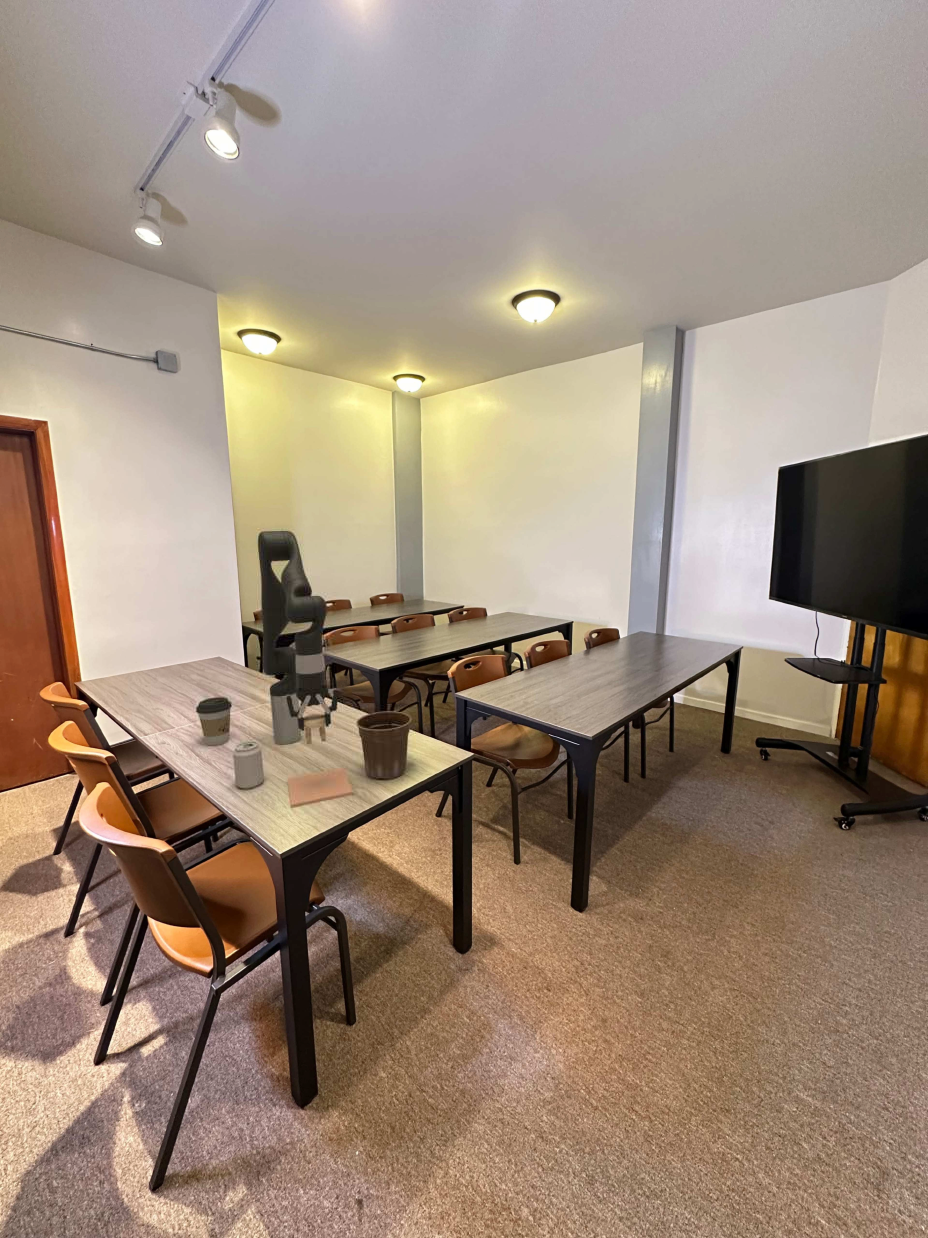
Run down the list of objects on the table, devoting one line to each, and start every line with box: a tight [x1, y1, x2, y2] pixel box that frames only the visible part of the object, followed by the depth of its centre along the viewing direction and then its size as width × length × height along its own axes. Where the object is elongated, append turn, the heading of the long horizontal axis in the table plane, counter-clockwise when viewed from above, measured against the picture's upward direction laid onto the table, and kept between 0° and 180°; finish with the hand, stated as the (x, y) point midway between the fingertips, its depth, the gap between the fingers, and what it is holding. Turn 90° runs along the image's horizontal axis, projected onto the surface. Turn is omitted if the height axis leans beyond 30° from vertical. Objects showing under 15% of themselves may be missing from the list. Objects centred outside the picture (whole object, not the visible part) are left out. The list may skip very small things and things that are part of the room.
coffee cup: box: [195, 696, 233, 747], centre depth 171 cm, size 11×11×15 cm
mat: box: [287, 767, 354, 808], centre depth 137 cm, size 16×16×1 cm
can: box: [232, 740, 265, 790], centre depth 140 cm, size 8×8×12 cm
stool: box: [303, 713, 327, 745], centre depth 135 cm, size 6×6×6 cm
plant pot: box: [356, 710, 413, 780], centre depth 146 cm, size 16×16×16 cm
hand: (314, 727), depth 135 cm, fingers closed on stool, 6 cm apart
